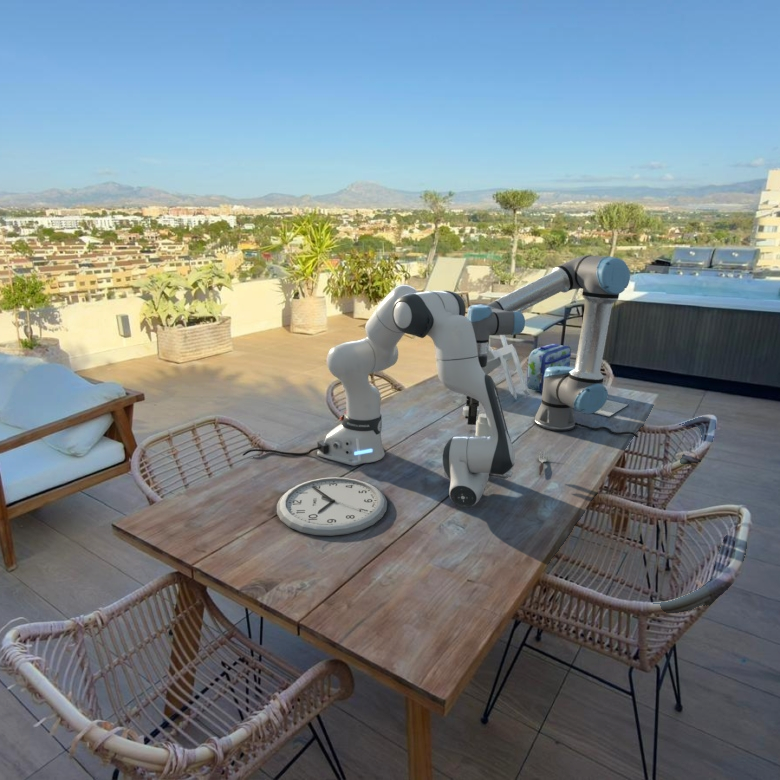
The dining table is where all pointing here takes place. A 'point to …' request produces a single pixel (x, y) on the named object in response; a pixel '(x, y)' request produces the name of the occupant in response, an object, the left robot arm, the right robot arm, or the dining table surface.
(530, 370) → the lunch box
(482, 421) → the white plastic cylinder
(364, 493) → the wall clock
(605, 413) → the invitation card
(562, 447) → the dining table surface
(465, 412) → the lid
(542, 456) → the fork
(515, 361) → the white plastic object
